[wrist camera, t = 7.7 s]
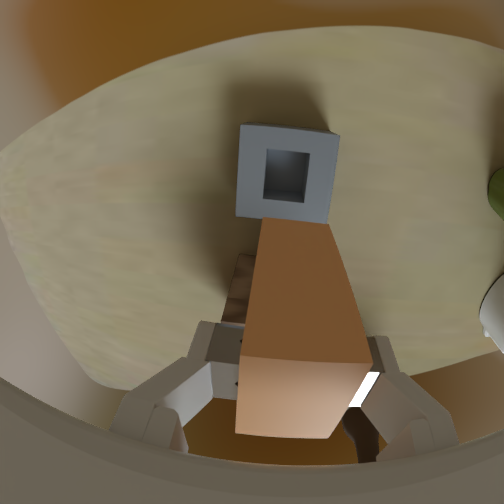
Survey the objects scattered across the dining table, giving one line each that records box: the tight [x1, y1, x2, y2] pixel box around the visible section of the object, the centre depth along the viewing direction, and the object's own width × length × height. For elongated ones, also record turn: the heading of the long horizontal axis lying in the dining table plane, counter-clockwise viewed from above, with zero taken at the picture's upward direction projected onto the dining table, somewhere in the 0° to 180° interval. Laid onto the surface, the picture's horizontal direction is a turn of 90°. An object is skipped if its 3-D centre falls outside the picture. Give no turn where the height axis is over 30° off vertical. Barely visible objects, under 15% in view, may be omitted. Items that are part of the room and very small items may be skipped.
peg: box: [235, 217, 373, 438], centre depth 10 cm, size 3×4×8 cm
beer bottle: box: [342, 406, 379, 463], centre depth 39 cm, size 8×8×24 cm
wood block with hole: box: [221, 254, 256, 327], centre depth 37 cm, size 10×10×14 cm
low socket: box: [235, 122, 340, 224], centre depth 32 cm, size 10×10×6 cm
